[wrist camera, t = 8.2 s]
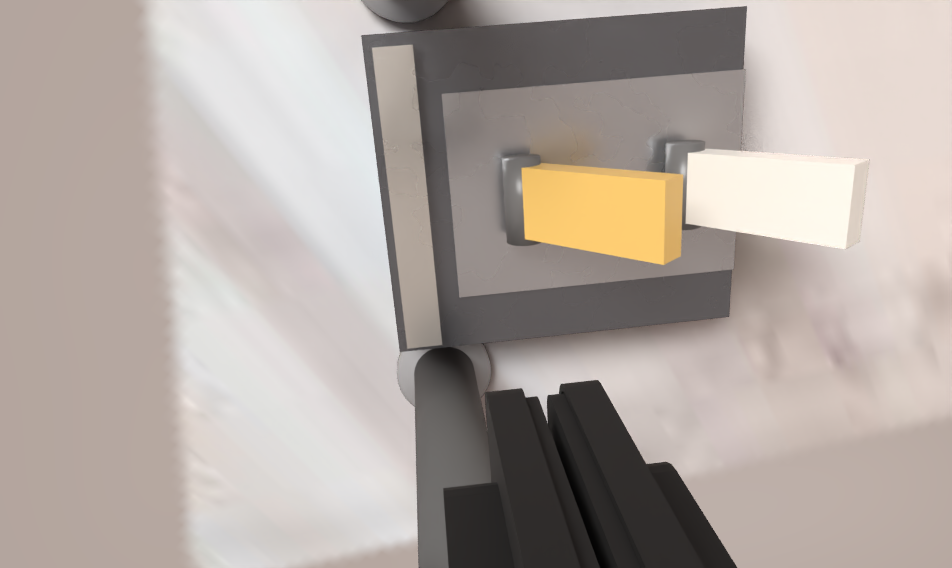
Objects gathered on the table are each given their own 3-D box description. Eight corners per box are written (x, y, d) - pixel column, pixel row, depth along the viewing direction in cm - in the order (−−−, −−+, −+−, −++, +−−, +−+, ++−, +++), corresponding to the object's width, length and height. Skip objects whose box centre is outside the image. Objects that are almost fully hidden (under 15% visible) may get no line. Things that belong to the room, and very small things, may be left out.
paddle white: (679, 138, 29) (873, 150, 23) (677, 219, 30) (860, 248, 25) (657, 144, 28) (853, 157, 23) (656, 226, 29) (842, 258, 24)
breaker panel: (706, 11, 32) (756, 4, 27) (695, 289, 36) (736, 322, 32) (366, 37, 31) (360, 34, 26) (400, 320, 35) (399, 359, 31)
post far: (486, 319, 36) (536, 490, 22) (492, 402, 37) (543, 610, 23) (392, 329, 35) (382, 509, 21) (402, 412, 37) (400, 629, 23)
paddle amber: (519, 153, 29) (686, 164, 23) (523, 233, 30) (683, 262, 25) (493, 159, 28) (662, 172, 22) (499, 242, 29) (660, 274, 24)
